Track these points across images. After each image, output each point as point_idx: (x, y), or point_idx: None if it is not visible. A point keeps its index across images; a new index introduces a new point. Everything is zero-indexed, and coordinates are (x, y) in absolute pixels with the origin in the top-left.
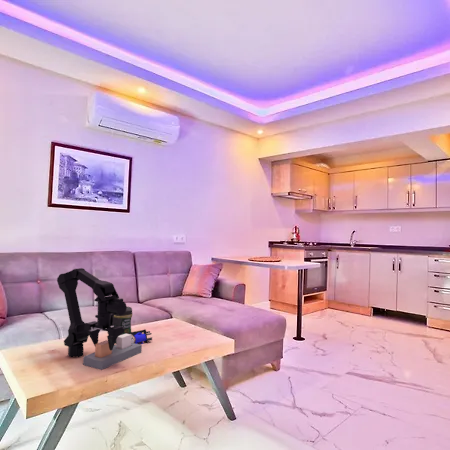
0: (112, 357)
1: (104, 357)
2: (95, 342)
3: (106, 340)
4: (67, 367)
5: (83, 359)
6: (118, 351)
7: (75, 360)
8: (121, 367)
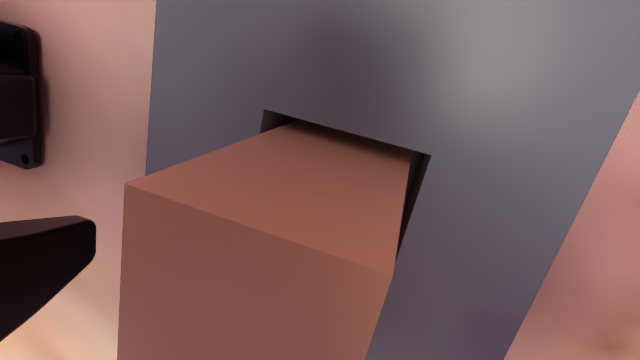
0: (519, 321)
1: (399, 354)
2: (8, 304)
3: (146, 208)
4: (106, 295)
5: None
6: (498, 43)
7: (43, 152)
8: (613, 220)
